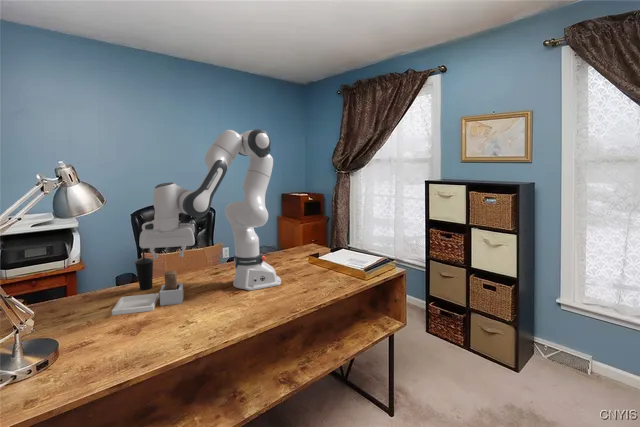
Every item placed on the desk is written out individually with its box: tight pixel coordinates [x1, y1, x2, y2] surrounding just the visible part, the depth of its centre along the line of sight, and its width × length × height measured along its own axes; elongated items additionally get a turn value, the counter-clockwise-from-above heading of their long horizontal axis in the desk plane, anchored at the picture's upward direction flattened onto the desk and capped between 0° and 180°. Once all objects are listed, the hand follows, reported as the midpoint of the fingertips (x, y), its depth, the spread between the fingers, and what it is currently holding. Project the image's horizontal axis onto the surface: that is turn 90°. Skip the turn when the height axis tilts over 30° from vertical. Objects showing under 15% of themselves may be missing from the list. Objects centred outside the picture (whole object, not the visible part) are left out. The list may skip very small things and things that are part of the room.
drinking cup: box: [134, 248, 155, 291], centre depth 154 cm, size 8×8×20 cm
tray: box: [111, 292, 160, 316], centre depth 136 cm, size 14×14×2 cm
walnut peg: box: [164, 270, 178, 291], centre depth 140 cm, size 4×4×12 cm
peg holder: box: [159, 283, 184, 307], centre depth 141 cm, size 8×8×6 cm
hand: (168, 257), depth 138 cm, fingers open, 8 cm apart
